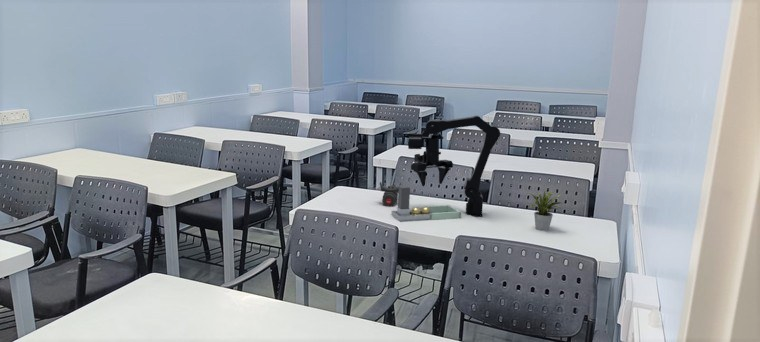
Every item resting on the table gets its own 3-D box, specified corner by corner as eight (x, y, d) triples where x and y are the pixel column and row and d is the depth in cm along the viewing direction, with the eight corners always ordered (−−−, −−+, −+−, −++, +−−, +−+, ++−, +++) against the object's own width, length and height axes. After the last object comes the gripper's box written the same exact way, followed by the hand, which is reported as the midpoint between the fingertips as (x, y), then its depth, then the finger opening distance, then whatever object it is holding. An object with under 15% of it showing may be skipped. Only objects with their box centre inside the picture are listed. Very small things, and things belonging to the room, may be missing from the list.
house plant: (533, 235, 206) (537, 193, 203) (515, 225, 219) (518, 185, 216) (566, 233, 210) (570, 192, 207) (546, 223, 223) (549, 184, 220)
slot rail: (448, 212, 236) (448, 206, 236) (460, 219, 225) (461, 213, 225) (390, 215, 228) (390, 210, 228) (400, 223, 217) (400, 217, 216)
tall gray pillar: (405, 216, 226) (407, 185, 224) (409, 218, 222) (410, 187, 220) (396, 216, 225) (398, 186, 222) (400, 219, 221) (401, 188, 219)
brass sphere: (418, 215, 228) (418, 206, 227) (421, 217, 224) (422, 208, 223) (409, 215, 226) (409, 206, 226) (412, 218, 223) (413, 208, 222)
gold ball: (427, 214, 229) (428, 205, 228) (431, 217, 225) (432, 207, 225) (419, 215, 228) (419, 206, 227) (422, 217, 224) (423, 208, 223)
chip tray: (448, 210, 236) (448, 205, 236) (460, 218, 225) (461, 212, 225) (421, 212, 232) (421, 206, 232) (432, 219, 221) (432, 213, 221)
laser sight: (402, 197, 262) (403, 177, 261) (399, 209, 240) (400, 187, 239) (382, 196, 263) (382, 176, 261) (377, 207, 241) (378, 186, 239)
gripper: (438, 145, 242) (437, 179, 245) (403, 148, 233) (403, 184, 236) (454, 148, 233) (453, 183, 236) (418, 151, 224) (418, 188, 226)
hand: (431, 185), depth 234 cm, fingers open, 9 cm apart
